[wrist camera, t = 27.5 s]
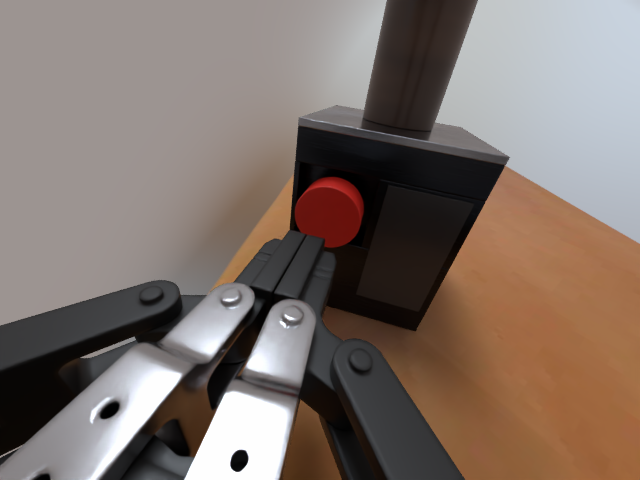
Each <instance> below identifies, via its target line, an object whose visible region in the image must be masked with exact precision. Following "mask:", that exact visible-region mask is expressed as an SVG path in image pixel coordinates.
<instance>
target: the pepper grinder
mask: <svg viewBox="0 0 640 480" xmlns="http://www.w3.org/2000/svg"><path fill="white" fill-rule="evenodd" d="M477 1H478V0H387V2H386V7H385V12H384V17H383V21H382V26H381V31H380V36H379V41H378V46H377V50H376V55H375V60H374V65H373V70H372V75H371V79H370V84H369V89H368V94H367V99H366V104H365V108H364V113H363V118H364V119H366V120H368V121H371V122H374V123H378V124H382V125H386V126H391V127H396V128H401V129H408V130H416V131H431V130H432V129H433V126H434V123H435V120H436V117H437V115H438V112H439V109H440V106H441V103H442V101H443V98H444V95H445V92H446V89H447V86H448V83H449V81H450V78H451V75H452V72H453V69H454V67H455V64H456V61H457V58H458V55H459V52H460V50H461V47H462V44H463V41H464V38H465V35H466V32H467V29H468V27H469V24H470V21H471V18H472V15H473V13H474V10H475V7H476V4H477Z"/></svg>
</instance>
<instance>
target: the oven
mask: <svg viewBox="0 0 640 480" xmlns="http://www.w3.org/2000/svg"><path fill="white" fill-rule="evenodd" d="M363 113H364V110H361V109H355V108H349V107H343V106H338V105H336V106H333V107H330V108H327V109H324V110H321V111H318V112H315V113H312V114H308V115H305V116H302V117H299V122H298V125H299V126H298V136H297V148H296V161H295V170H294V182H293V195H292V207H291V219H290V230H292V231H296V232H300V233H301V231H300V230H299V228H298V226H297V223H296V220H295V207H296V204H297V202H298V200H299V198H300V197H301V196H302V194H303V193H304V192H305V191H306V190H307V189H308V187H309V186H310V185H311V184H312V183H314V182H315V181H317V180H318V179H321V178H324V177H338V178H342V179H344V180H347V181H348V182H350V183H351V184H353V185H354V186H355V187H356V188H357V190H358V191H359V193H360V194H361V196H362V199H363V203H364V212H363V216H362V221H361V225H360V228H359V231H358V233H357V234H356V236H355V237H354V238H353V239H352V240H351V241H350V242H348V243H347V244H345V245H342V246H339V247H324V251H326V252H330V253H334V255H335V258H336V262H337V263H336V268H335V273H334V277H333V282H332V286H331V291H330V294H329V297H328V300H327V304H326V305H327V306H330V307H334V308H337V309H341V310H344V311H348V312H351V313H355V314H358V315H362V316H365V317H368V318H372V319H375V320H379V321H382V322H386V323H389V324H393V325H396V326H400V327H403V328H406V329H410V330H413V331H416V330H417V328H418V326H419V324H420V322H421V320H422V319H423V317H424V315H425V313H426V311H427V309H428V307H429V306H430V304H431V302H432V300H433V298H434V296H435V295H436V293H437V291H438V289H439V287H440V285H441V283H442V282H443V280H444V278H445V276H446V274H447V272H448V270H449V269H450V267H451V265H452V263H453V261H454V260H455V258H456V256H457V254H458V252H459V250H460V248H461V247H462V245H463V243H464V241H465V239H466V237H467V235H468V234H469V232H470V230H471V228H472V226H473V224H474V223H475V221H476V219H477V217H478V215H479V213H480V211H481V210H482V208H483V206H484V204H485V201H486V200H487V198H488V196H489V195H490V193H491V191H492V189H493V187H494V185H495V184H496V182H497V180H498V178H499V176H500V174H501V172H502V171H503V169H504V165H506V164H507V161H508V160H509V158H510V157H509V156H507V155H505V154H504V153H502V152H500V151H499V150H497V149H496V148H494V147H492V146H491V145H489V144H487V143H486V142H484V141H482V140H481V139H479V138H478V137H476V136H474V135H473V134H471V133H469V132H468V131H466V130H464V129H463V128H461V127H456V126H451V125H445V124H440V123H434V126H433V129H432V130H431V131H416V130H408V129H401V128H396V127H391V126H386V125H382V124H378V123H374V122H371V121H368V120H366V119H364V118H363Z"/></svg>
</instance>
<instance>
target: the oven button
mask: <svg viewBox="0 0 640 480" xmlns="http://www.w3.org/2000/svg"><path fill="white" fill-rule="evenodd" d="M363 212H364V203H363V199H362V196H361V194H360V193H359V191H358V190H357V188H356V187H355V186H354V185H353V184H351V183H350V182H348V181H347V180H344V179H342V178H338V177H324V178H321V179H318V180H317V181H315V182H314V183H312V184H311V185H310V186H309V187H308V189H307V190H306V191H305V192H304V193H303V194H302V196H301V197H300V198H299V200H298V202H297V204H296V207H295V220H296V223H297V226H298V228H299V230H300V231H301V233H304V234H307V235H313V236H317V237H321V238H325V245H324V247H339V246H342V245H345V244H347V243H348V242H350V241H351V240H352V239H353V238H354V237H355V236H356V234H357V233H358V231H359V228H360V225H361V221H362V216H363Z"/></svg>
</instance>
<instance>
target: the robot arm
mask: <svg viewBox="0 0 640 480" xmlns="http://www.w3.org/2000/svg"><path fill="white" fill-rule="evenodd" d="M324 245H325V238H321V237H317V236H313V235H307V234H304V233H300V232H296V231H292V230H289V231H288V233H287V234H286V236H285V237H284V238H283V240H279V239H273V240H271V241H269V242H267V243H265V244H264V245H263V247H262V248H261V249H260V250H259V252H258V253H257V254H256V255H255V256H254V258H253V259H252V260H251V261H250V263H249V264H248V265H247V266H246V267H245V269H244V270H243V271H242V272H241V274H240V275H239V276H238V277H237V278H236V280H235V281H234V282H233V283H226V284H223V285H220V286H218V287H216V288H215V289H213V290H212V291H211V292H210V293H209V294H208V295H180V291H179V288H178V286H177V285H176V284H174V283H173V282H170V281H165V280H158V281H151V282H147V283H144V284H140V285H137V286H134V287H130V288H127V289H123V290H120V291H117V292H113V293H110V294H106V295H103V296H100V297H96V298H93V299H89V300H86V301H82V302H80V303H76V304H72V305H69V306H65V307H62V308H59V309H55V310H52V311H48V312H45V313H42V314H38V315H35V316H31V317H28V318H25V319H21V320H18V321H15V322H11V323H8V324H4V325H1V326H0V456H1V455H3V454H5V453H7V452H9V451H11V450H13V449H15V448H17V447H19V446H21V445H23V444H24V445H23V446H22V447H21V448H19V449H17V450H15V451H13V452H11V453H9V454H7V455H5V456H3V457H1V458H0V480H283V477H284V472H285V468H286V463H287V458H288V454H289V449H290V444H291V439H292V435H293V430H294V426H295V421H296V417H297V412H298V408H299V403H300V399H301V400H302V401H304V402H305V403H306V404H307V405H308V406H310V407H311V408H312V409H313V410H314V411H316V412H317V413H318V414H319V418H320V422H321V424H322V427H323V430H324V432H325V435H326V438H327V440H328V443H329V446H330V448H331V451H332V454H333V456H334V459H335V462H336V464H337V467H338V470H339V472H340V475H341V478H342V480H465V479H464V477H463V476H462V474H461V473H460V471H459V470H458V468H457V467H456V465H455V464H454V462H453V461H452V459H451V458H450V456H449V455H448V453H447V452H446V450H445V449H444V447H443V446H442V444H441V443H440V441H439V440H438V438H437V437H436V435H435V434H434V432H433V431H432V429H431V428H430V426H429V425H428V423H427V422H426V420H425V419H424V417H423V416H422V414H421V413H420V411H419V410H418V408H417V407H416V405H415V403H414V402H413V400H412V399H411V397H410V396H409V394H408V393H407V391H406V390H405V388H404V387H403V385H402V384H401V382H400V381H399V379H398V378H397V376H396V375H395V373H394V372H393V370H392V369H391V367H390V366H389V364H388V363H387V361H386V360H385V358H384V357H383V355H382V354H381V352H380V351H379V350H378V349H377V348H376V347H375V346H374V345H372V344H371V343H369V342H367V341H365V340H361V339H347V340H345V341H343V340H341V339H340V338H338V337H337V336H335V335H334V334H332V333H331V332H330V331H329V330H328V329H327V328H326V326H325V325H324V323H323V321H322V317H323V314H324V310H325V307H326V304H327V300H328V297H329V294H330V291H331V286H332V282H333V277H334V273H335V268H336V263H337V262H336V258H335V255H334V253H330V252H326V251H324ZM134 336H135V338H136V340H135V341H133V342H130V343H128V344H125V345H123V346H120V347H118V348H115V349H113V350H110V351H107V352H105V353H103V354H100V355H98V356H95V357H92V358H80V357H82V356H85V355H88V354H90V353H93V352H95V351H98V350H100V349H103V348H105V347H108V346H111V345H113V344H116V343H118V342H121V341H124V340H126V339H129V338H131V337H134Z"/></svg>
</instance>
